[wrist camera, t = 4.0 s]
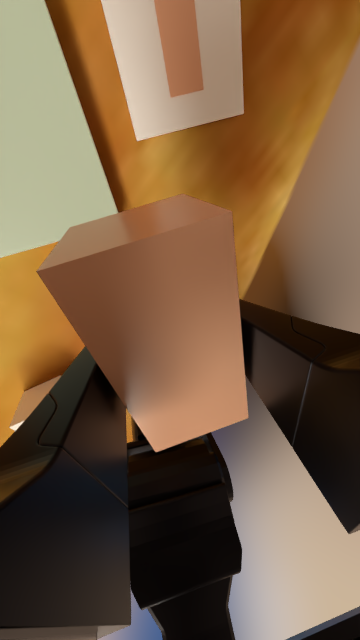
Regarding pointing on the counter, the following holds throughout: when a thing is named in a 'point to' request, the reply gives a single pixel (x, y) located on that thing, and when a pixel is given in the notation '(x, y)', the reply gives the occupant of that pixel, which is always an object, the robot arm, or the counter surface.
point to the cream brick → (31, 402)
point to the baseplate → (42, 136)
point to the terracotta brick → (158, 313)
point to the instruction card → (177, 61)
